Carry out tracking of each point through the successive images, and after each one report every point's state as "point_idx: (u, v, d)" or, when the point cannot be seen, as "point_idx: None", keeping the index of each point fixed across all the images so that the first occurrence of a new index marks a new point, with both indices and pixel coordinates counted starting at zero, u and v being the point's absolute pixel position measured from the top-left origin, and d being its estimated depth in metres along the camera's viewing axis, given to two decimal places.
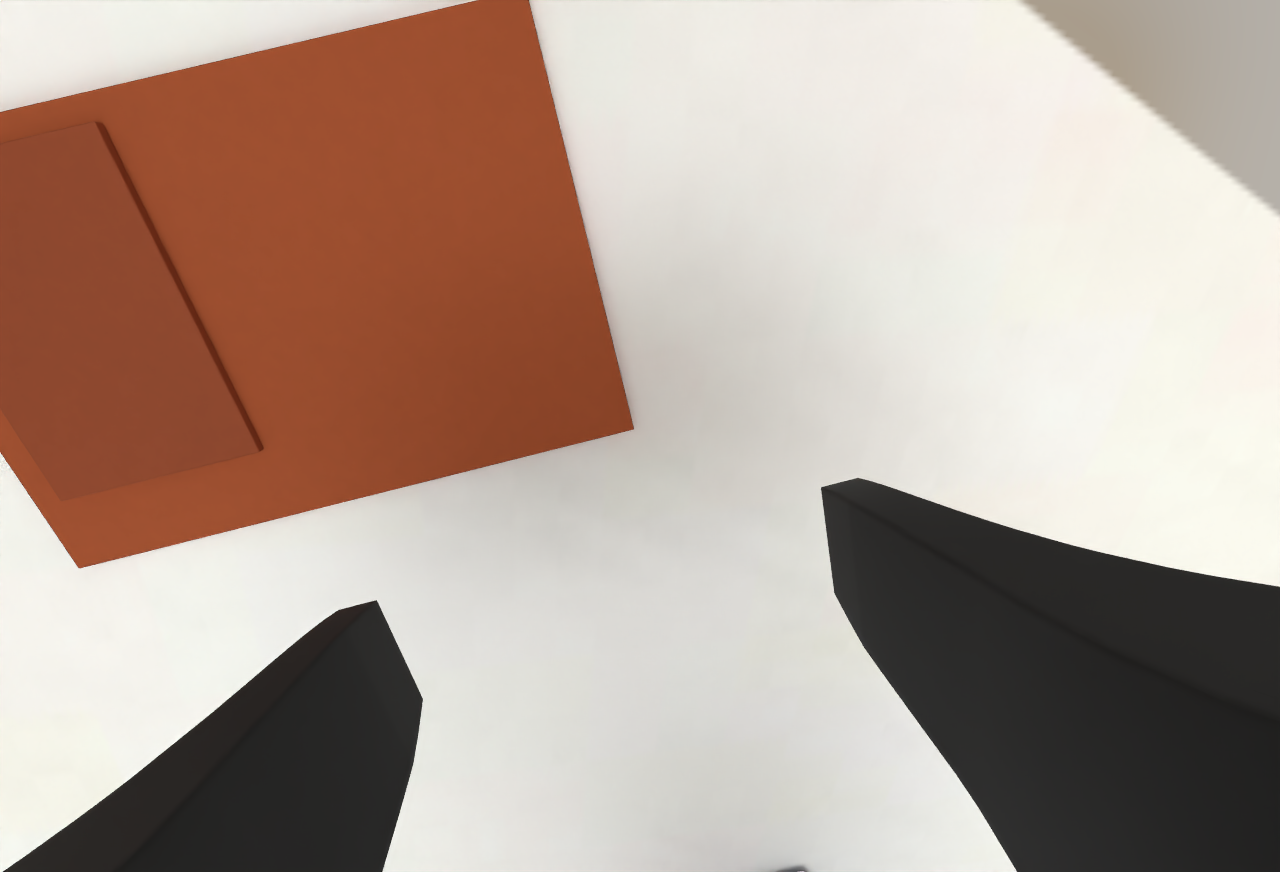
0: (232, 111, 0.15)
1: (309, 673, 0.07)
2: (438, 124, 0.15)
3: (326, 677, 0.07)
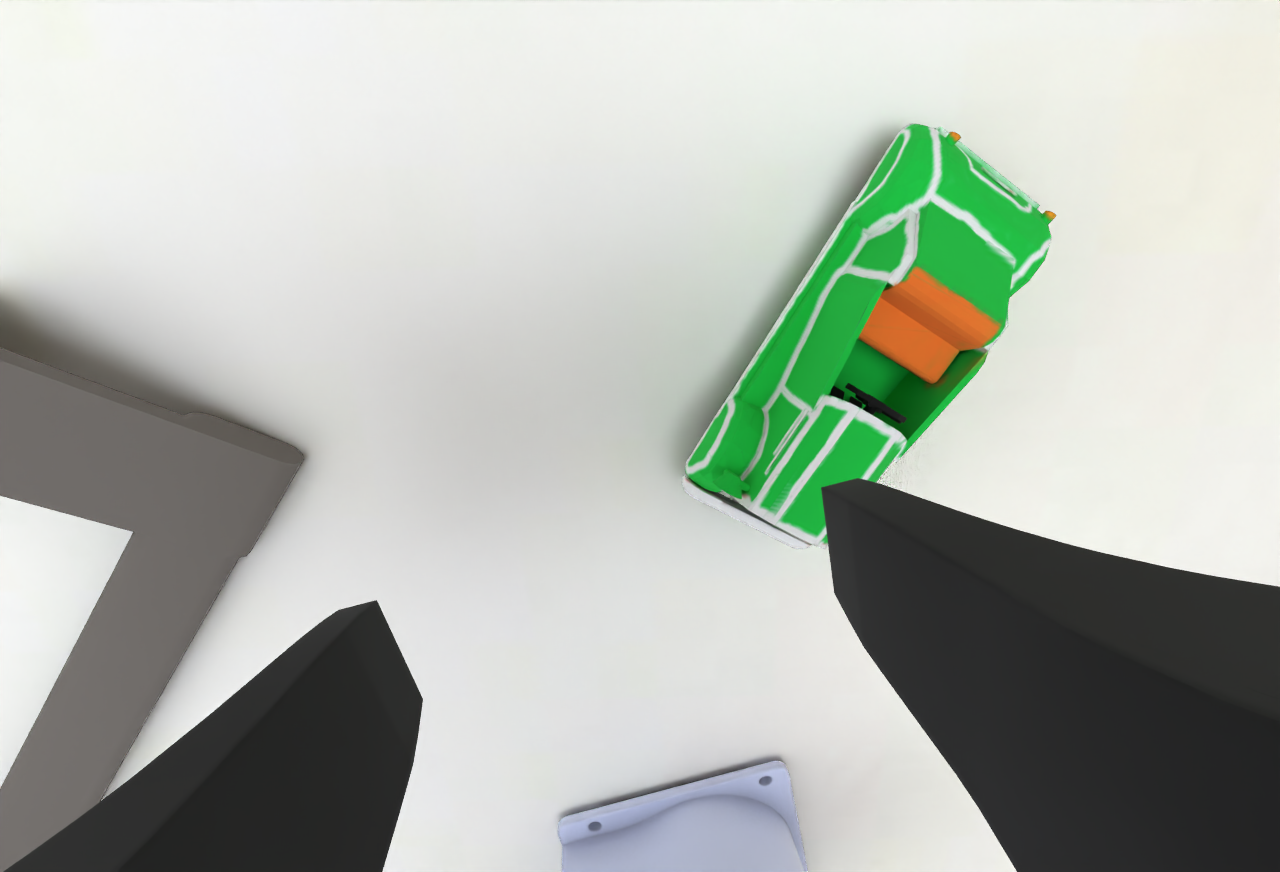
0: None
1: (308, 673, 0.07)
2: None
3: (326, 677, 0.07)
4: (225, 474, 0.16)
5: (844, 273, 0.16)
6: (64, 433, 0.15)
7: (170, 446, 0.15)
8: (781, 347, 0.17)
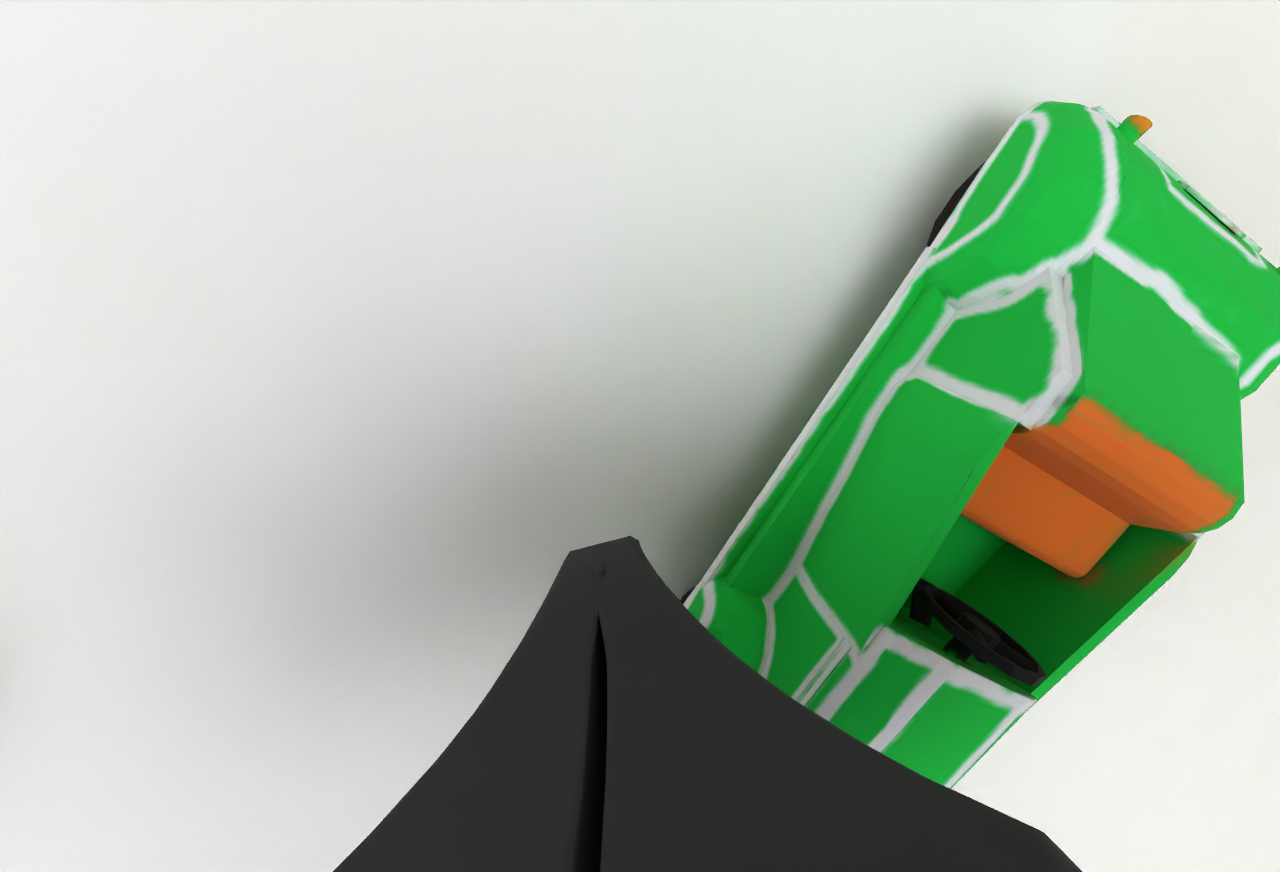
0: None
1: (603, 599, 0.07)
2: None
3: None
4: None
5: (911, 375, 0.09)
6: None
7: None
8: (796, 501, 0.09)
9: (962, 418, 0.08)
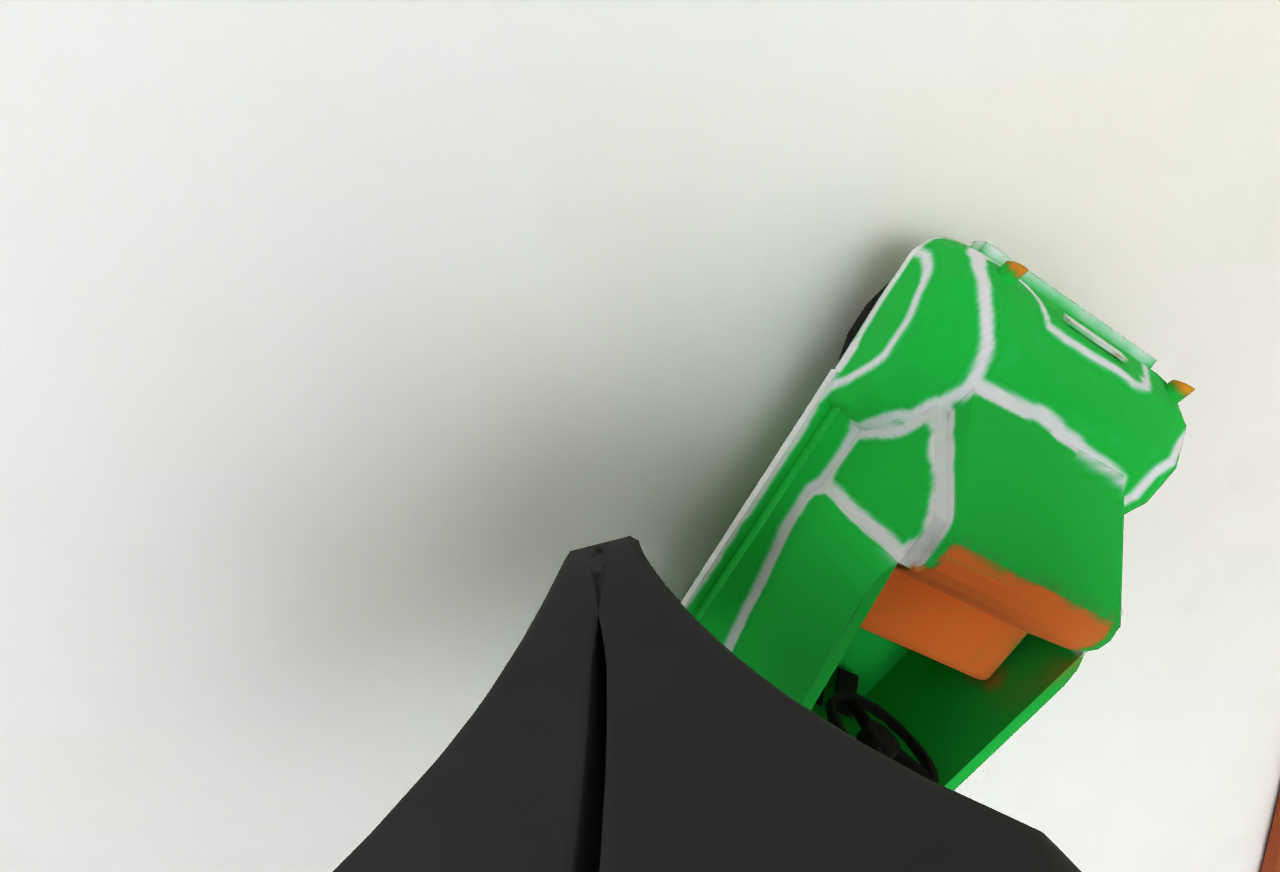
0: None
1: (601, 599, 0.07)
2: None
3: None
4: None
5: (822, 488, 0.09)
6: None
7: None
8: (719, 603, 0.10)
9: (855, 548, 0.08)
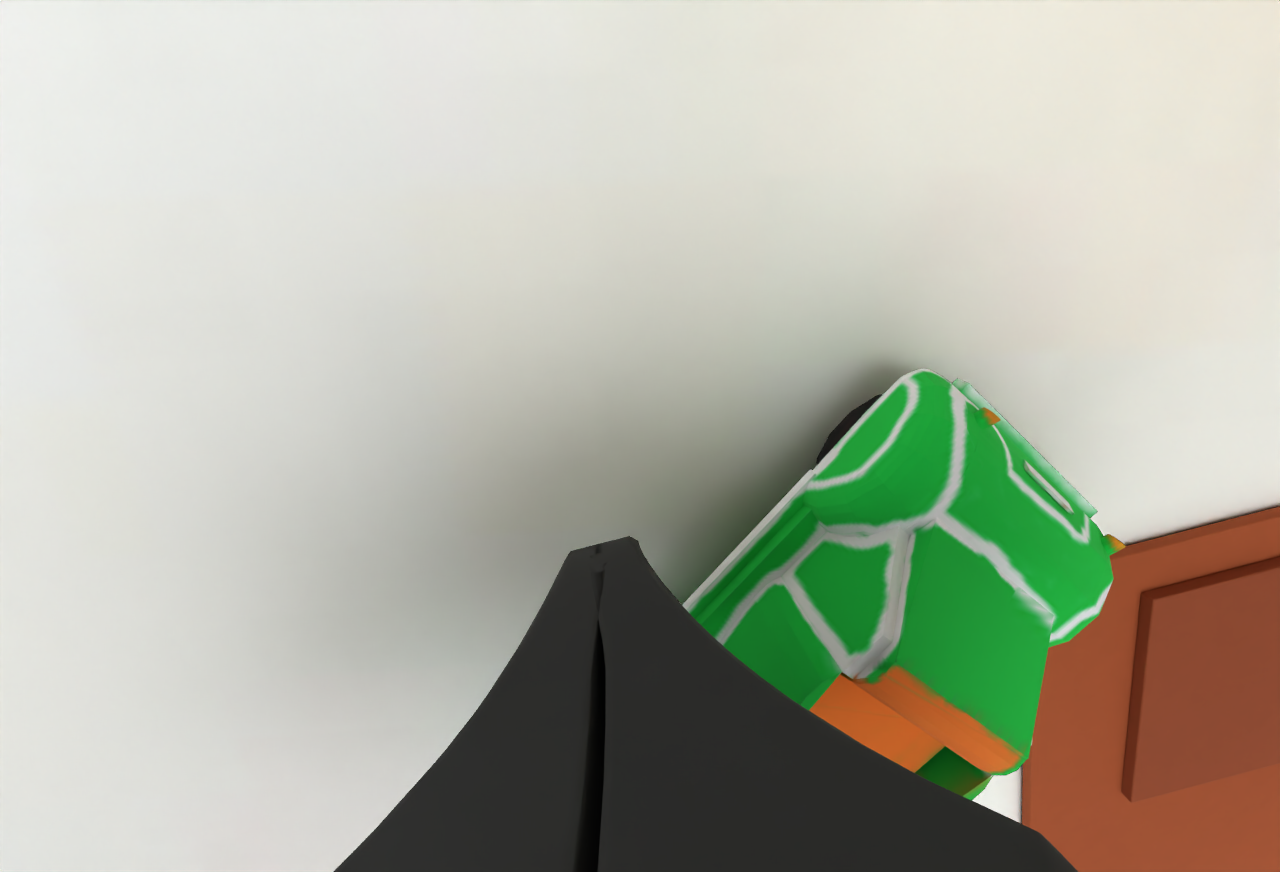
0: None
1: (603, 599, 0.07)
2: None
3: None
4: None
5: (781, 578, 0.10)
6: None
7: None
8: None
9: (804, 647, 0.08)
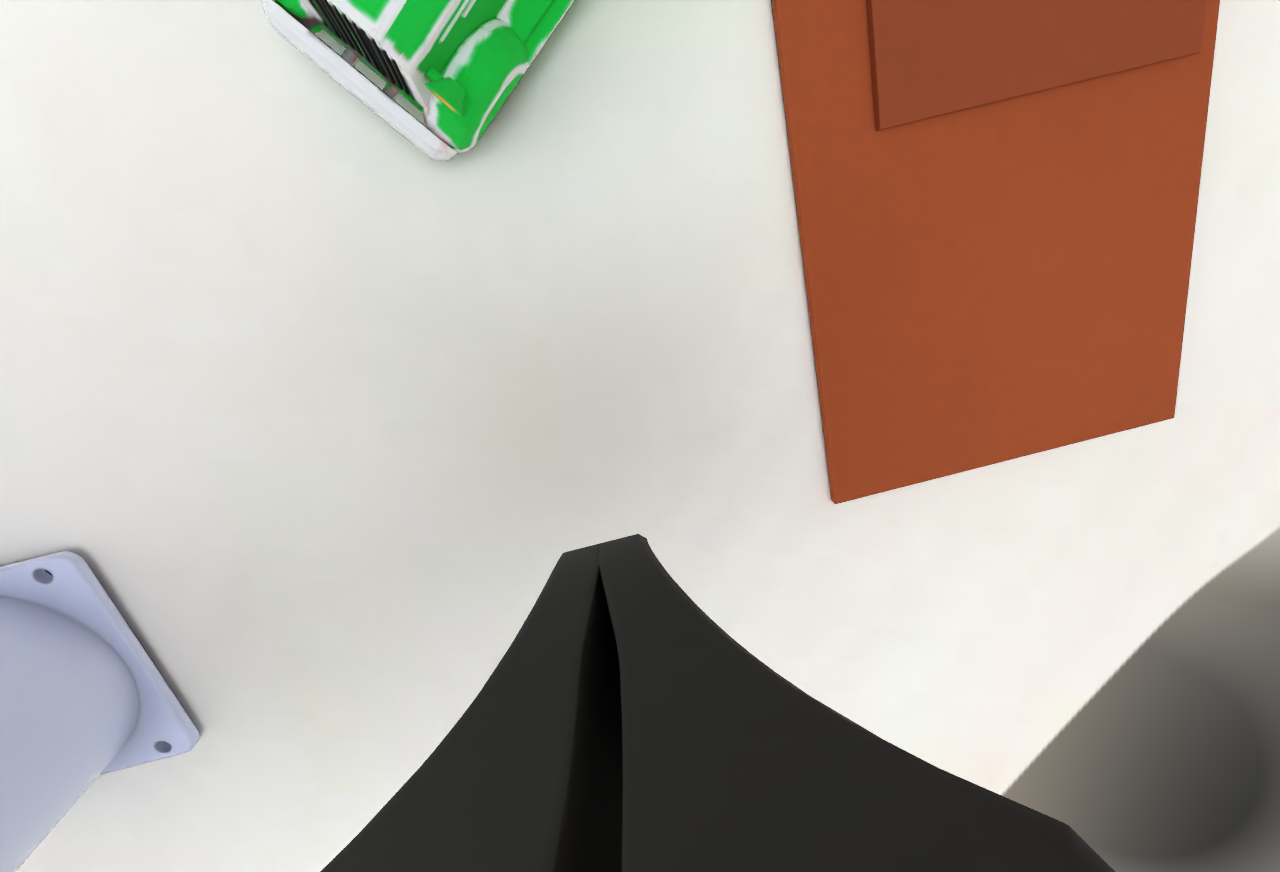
0: (1166, 178, 0.17)
1: (593, 601, 0.07)
2: (1112, 348, 0.19)
3: (599, 607, 0.07)
4: None
5: None
6: None
7: None
8: None
9: None
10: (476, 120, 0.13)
